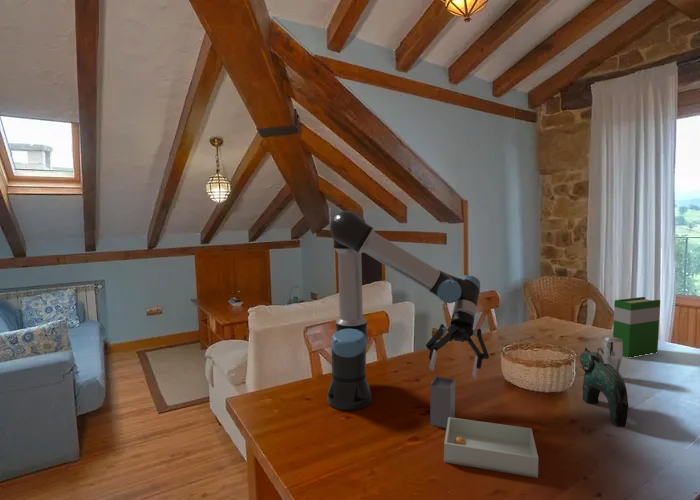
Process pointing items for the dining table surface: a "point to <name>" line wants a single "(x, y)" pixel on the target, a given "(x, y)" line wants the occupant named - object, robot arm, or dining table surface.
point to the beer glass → (612, 351)
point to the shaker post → (442, 401)
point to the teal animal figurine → (604, 385)
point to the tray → (491, 447)
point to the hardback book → (637, 325)
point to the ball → (460, 441)
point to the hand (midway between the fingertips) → (452, 373)
